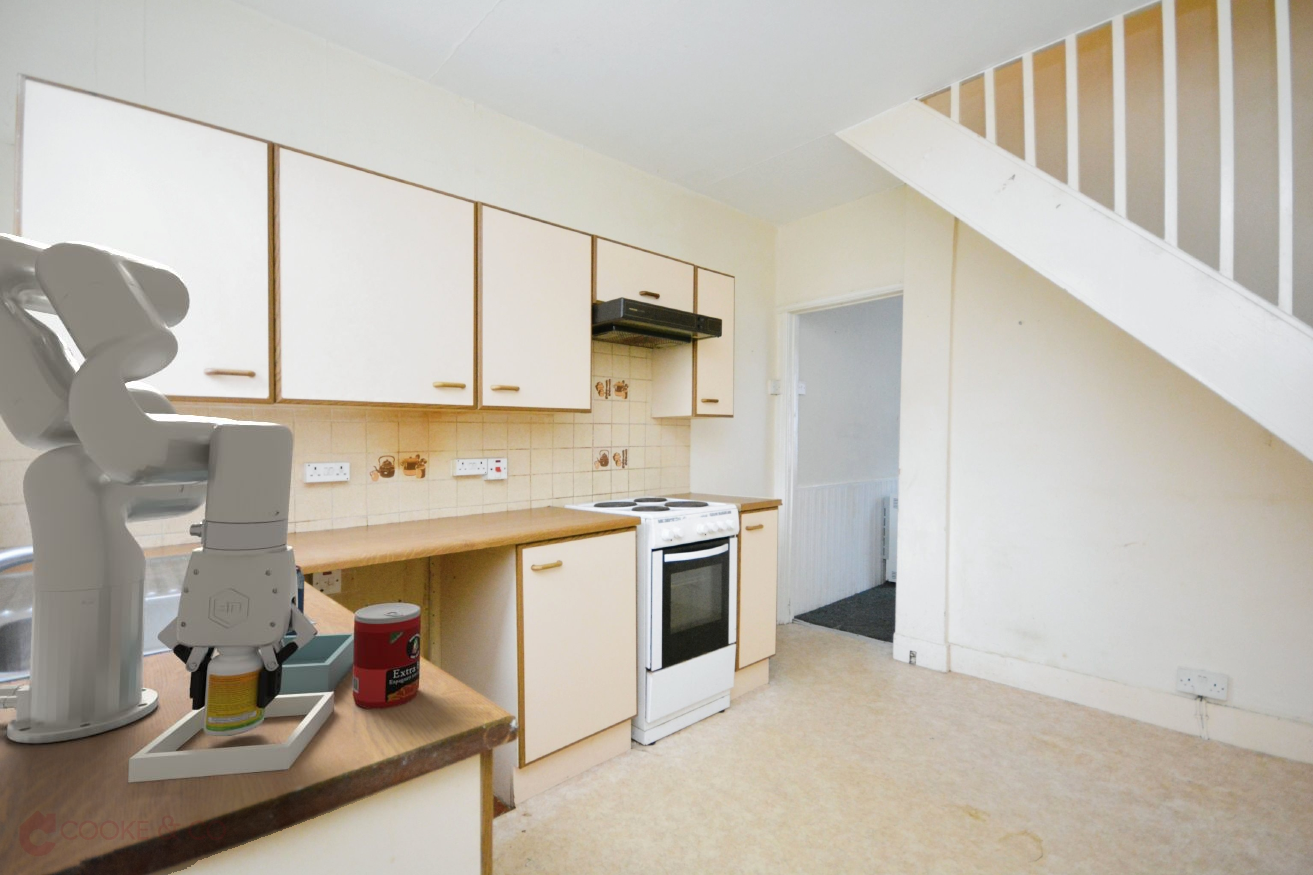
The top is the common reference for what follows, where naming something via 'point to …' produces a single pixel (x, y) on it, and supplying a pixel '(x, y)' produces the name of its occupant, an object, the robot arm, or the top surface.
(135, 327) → the robot arm
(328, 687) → the teal bin
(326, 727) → the top surface
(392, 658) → the canned food
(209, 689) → the supplement bottle
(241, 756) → the white frame
